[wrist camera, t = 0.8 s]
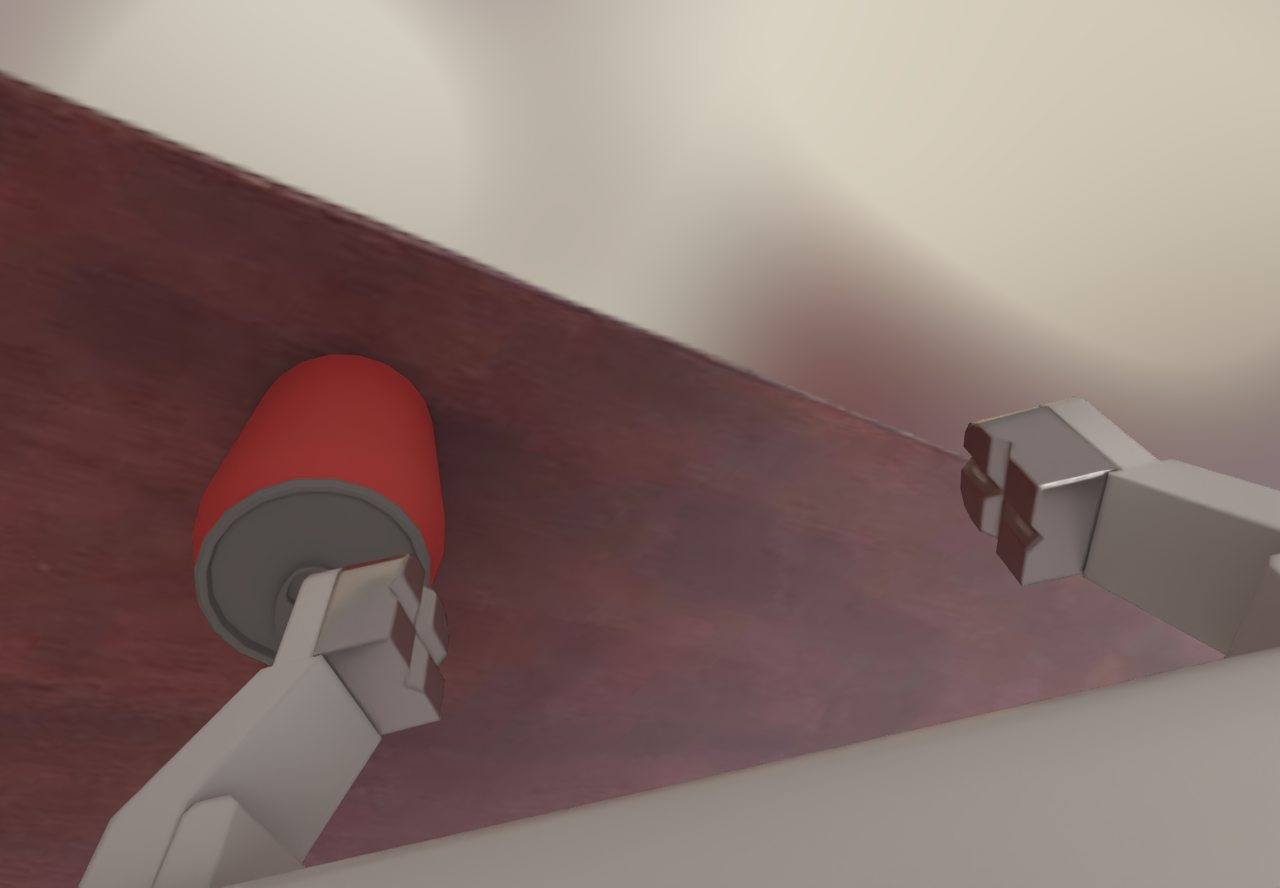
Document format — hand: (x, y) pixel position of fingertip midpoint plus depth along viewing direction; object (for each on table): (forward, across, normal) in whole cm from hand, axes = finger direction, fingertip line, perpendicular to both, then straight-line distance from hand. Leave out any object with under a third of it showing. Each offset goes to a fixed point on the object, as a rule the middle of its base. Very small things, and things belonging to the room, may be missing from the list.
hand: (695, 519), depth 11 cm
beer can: (+18, +12, +7) cm, 23 cm away
